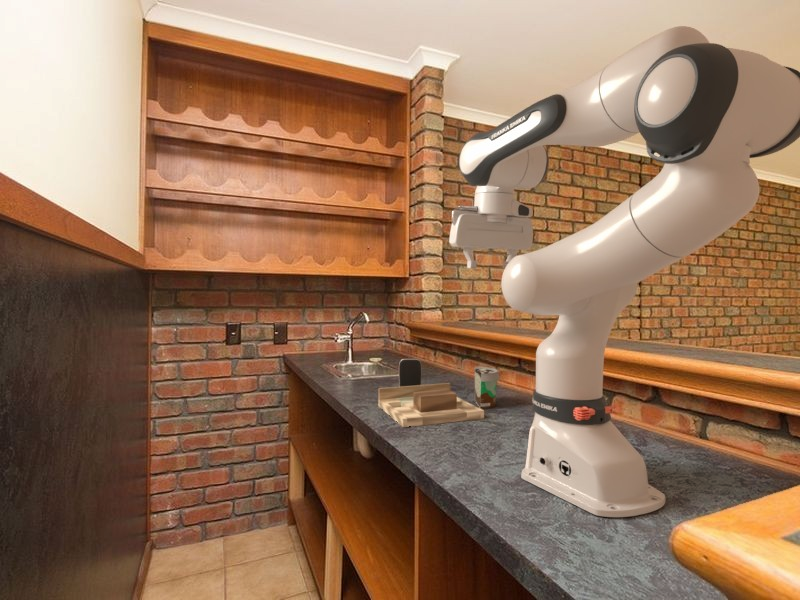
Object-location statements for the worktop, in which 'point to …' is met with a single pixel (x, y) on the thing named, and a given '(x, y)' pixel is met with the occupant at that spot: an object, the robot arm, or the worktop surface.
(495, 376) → the food container
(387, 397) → the wooden frame
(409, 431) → the worktop surface
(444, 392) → the block
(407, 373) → the battery charger
